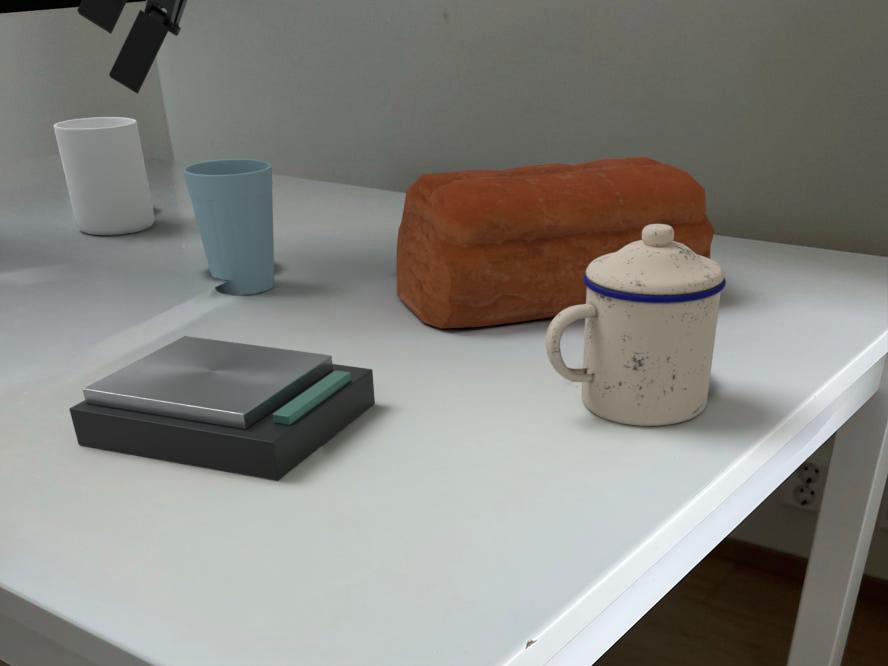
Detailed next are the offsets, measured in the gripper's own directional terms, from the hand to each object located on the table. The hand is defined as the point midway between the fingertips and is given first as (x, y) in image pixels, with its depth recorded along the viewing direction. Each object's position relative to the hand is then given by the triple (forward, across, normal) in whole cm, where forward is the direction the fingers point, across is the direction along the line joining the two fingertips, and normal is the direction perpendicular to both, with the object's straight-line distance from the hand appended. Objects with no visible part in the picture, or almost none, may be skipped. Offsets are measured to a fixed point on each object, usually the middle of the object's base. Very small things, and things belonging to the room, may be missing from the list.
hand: (109, 56), depth 87 cm
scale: (+23, -28, -25) cm, 44 cm away
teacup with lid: (+9, -30, -48) cm, 57 cm away
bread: (-1, -6, -43) cm, 44 cm away
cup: (+11, +2, -18) cm, 22 cm away
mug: (+9, +29, 0) cm, 30 cm away
